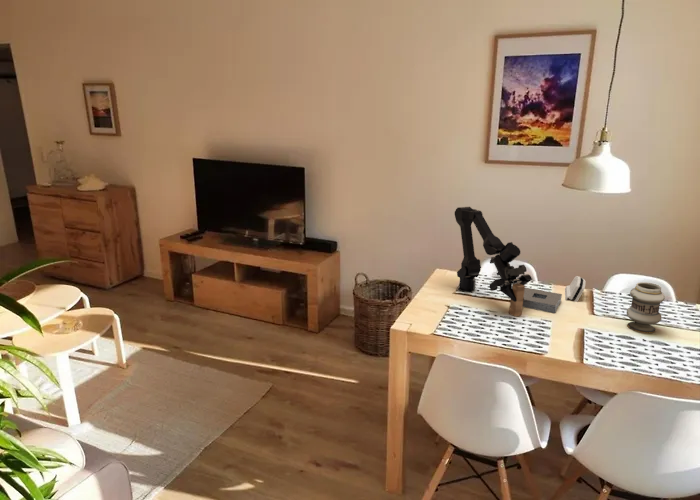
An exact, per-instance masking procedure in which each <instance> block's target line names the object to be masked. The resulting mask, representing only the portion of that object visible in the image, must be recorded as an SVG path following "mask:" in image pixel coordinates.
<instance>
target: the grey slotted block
mask: <svg viewBox="0 0 700 500" xmlns="http://www.w3.org/2000/svg"><path fill="white" fill-rule="evenodd" d="M562 296H563V294H562V293H558V292H557V293H556V292H552V291H545V290H542V289H535V288H531V287H526V286H525V290H524V300H523V306H522V308H525V309H526V308H527V309H532V310H537V311H540V312H541V311H542V312H547V313H551V314H556V312H557V310H558V309H559V306H560V304H561V302H562Z"/></svg>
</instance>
